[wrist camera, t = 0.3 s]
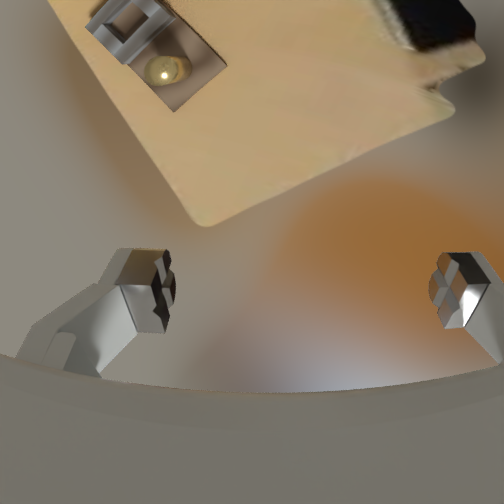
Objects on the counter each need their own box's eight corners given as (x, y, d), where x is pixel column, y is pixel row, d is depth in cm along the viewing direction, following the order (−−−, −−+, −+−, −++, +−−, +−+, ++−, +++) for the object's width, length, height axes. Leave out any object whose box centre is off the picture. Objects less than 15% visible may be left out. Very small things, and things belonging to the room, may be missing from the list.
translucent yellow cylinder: (167, 57, 43) (144, 57, 35) (192, 55, 43) (174, 54, 35) (167, 81, 46) (144, 87, 38) (192, 80, 46) (173, 85, 38)
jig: (93, 28, 40) (82, 27, 37) (139, -20, 36) (129, -24, 32) (175, 111, 50) (168, 115, 47) (227, 66, 45) (223, 66, 42)
